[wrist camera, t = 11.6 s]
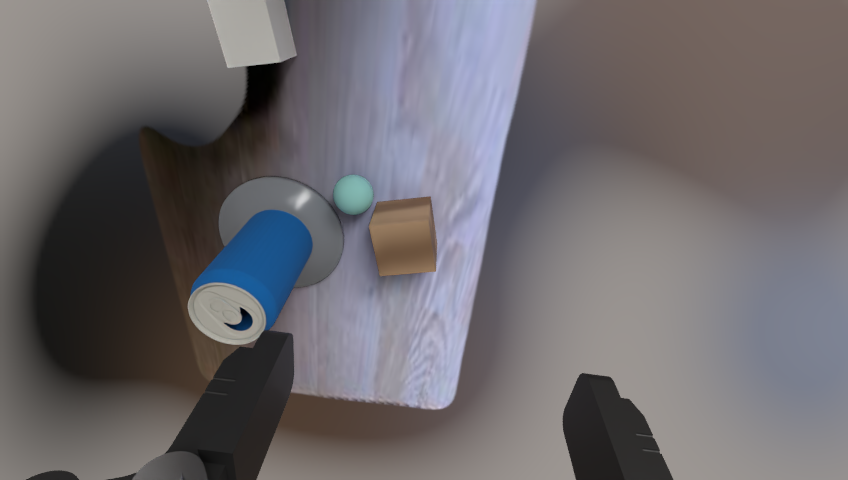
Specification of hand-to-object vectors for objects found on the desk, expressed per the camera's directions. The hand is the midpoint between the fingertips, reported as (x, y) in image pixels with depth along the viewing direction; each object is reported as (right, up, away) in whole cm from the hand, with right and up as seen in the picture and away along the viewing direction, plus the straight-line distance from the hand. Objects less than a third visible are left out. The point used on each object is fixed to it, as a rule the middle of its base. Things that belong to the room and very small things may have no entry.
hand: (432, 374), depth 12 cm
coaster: (-14, +4, +30) cm, 34 cm away
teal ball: (-6, +8, +26) cm, 28 cm away
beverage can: (-14, +4, +30) cm, 33 cm away
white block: (-13, +21, +21) cm, 32 cm away
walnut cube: (-2, +5, +29) cm, 30 cm away
